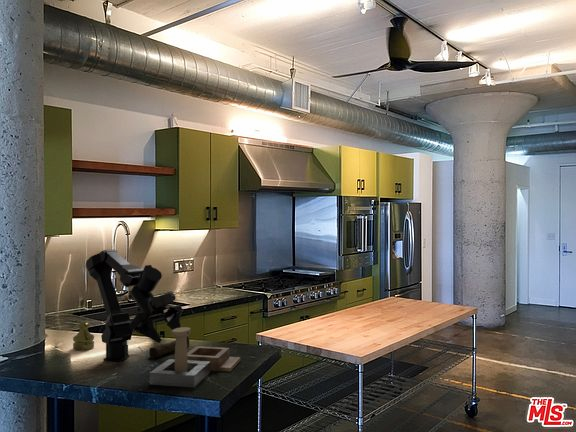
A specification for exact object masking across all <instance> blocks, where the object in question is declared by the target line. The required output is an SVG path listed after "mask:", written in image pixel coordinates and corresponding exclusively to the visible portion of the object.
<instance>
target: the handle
mask: <svg viewBox="0 0 576 432" xmlns="http://www.w3.org/2000/svg"><path fill="white" fill-rule="evenodd" d="M191 332H192V329H191V327H187V326H185V327H184V326H183V327H182V326H181V327H180V328H176V329H173V330H172V329H171V336H172V337H174V338H175V341H176V345H175V351H174V359H175V371H180V372H187V364H188V357H187V353H188V347H187V336H188V337H189V335H190V334H191Z"/></svg>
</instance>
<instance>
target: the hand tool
mask: <svg viewBox="0 0 576 432" xmlns="http://www.w3.org/2000/svg"><path fill="white" fill-rule="evenodd" d="M175 345H176V340H173V341H171V342H167V343H165V344H161V345H158V346H155V347H150V348H149V357H150V358H152V359H158V358H161V356H163V355H167V354H169V353H172V352H175ZM189 347H190V338H189V335H188V336H187V348H189Z"/></svg>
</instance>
